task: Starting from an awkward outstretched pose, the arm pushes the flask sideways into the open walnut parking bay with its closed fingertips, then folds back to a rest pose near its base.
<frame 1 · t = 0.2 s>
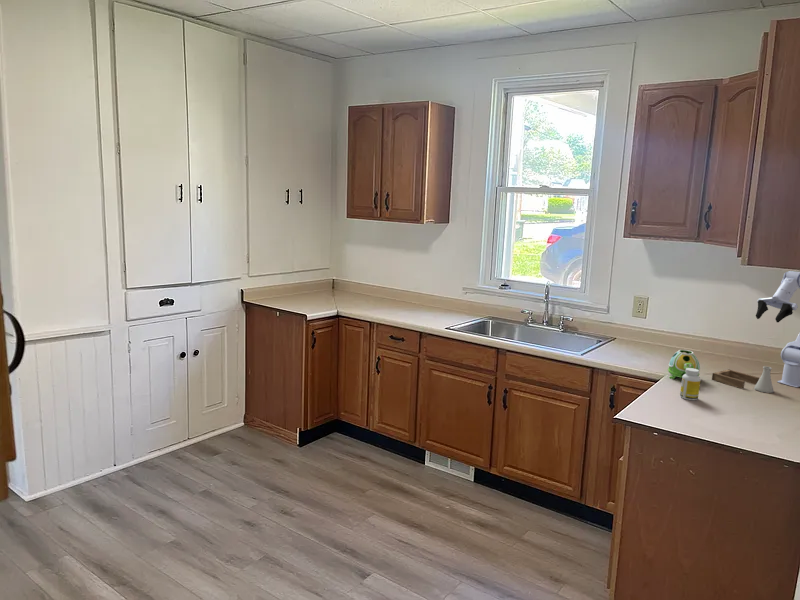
hand: (766, 319, 236), 31 cm above the worktop, tool tilted 45°, fingers open, 7 cm apart
flask: (763, 390, 245), on the worktop
turtle holder: (683, 379, 257), on the worktop
pill bottle: (688, 398, 232), on the worktop
parking bay: (737, 382, 254), on the worktop
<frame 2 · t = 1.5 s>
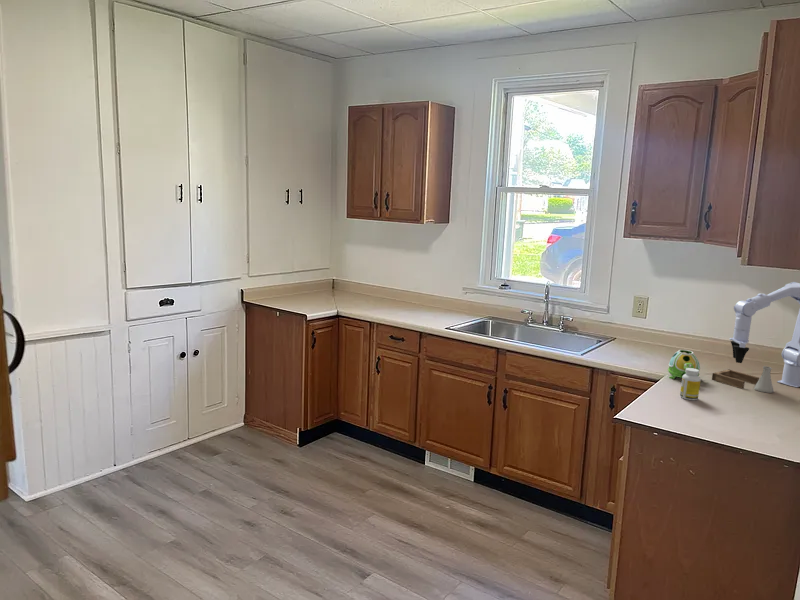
hand: (737, 360, 251), 10 cm above the worktop, tool pointing down, fingers open, 7 cm apart
nothing on the worktop moved.
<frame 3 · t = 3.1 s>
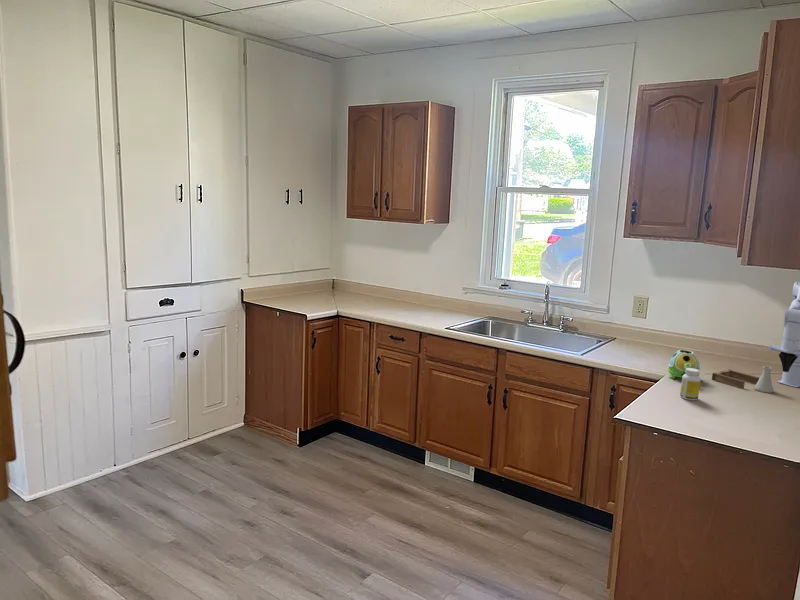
hand: (785, 371, 238), 10 cm above the worktop, tool pointing down, fingers closed
nothing on the worktop moved.
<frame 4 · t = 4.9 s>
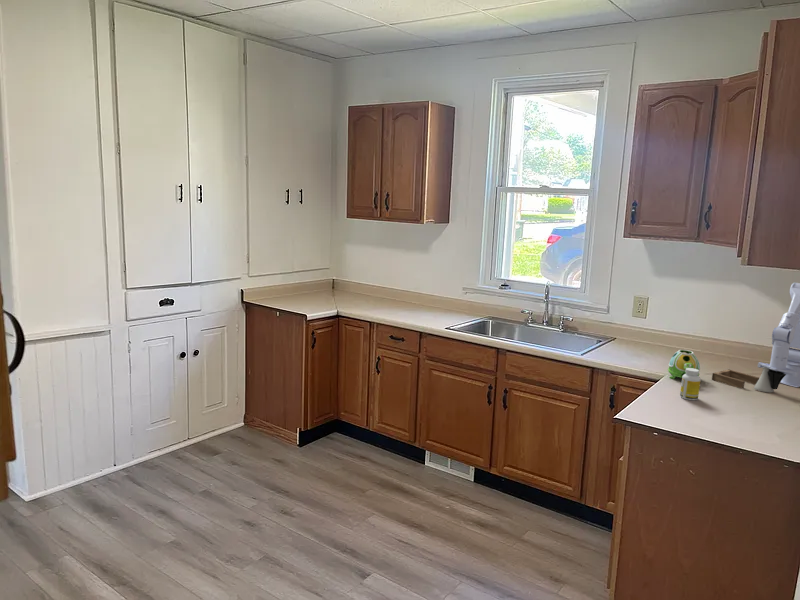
hand: (774, 388, 242), 2 cm above the worktop, tool pointing down, fingers closed, pressing on flask
flask: (763, 390, 245), on the worktop, touching gripper
everything else where it was.
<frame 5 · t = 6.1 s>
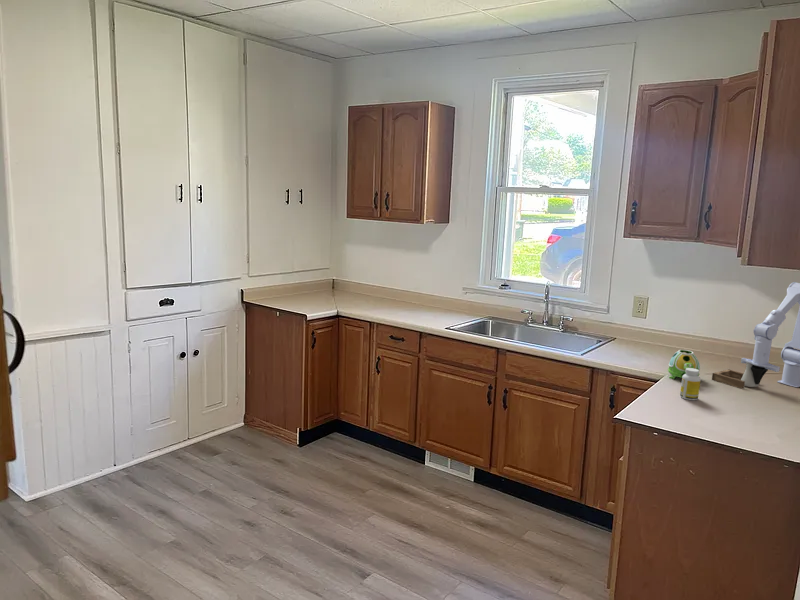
hand: (756, 383, 247), 2 cm above the worktop, tool pointing down, fingers closed, pressing on flask
flask: (748, 385, 250), on the worktop, touching gripper
everything else where it was.
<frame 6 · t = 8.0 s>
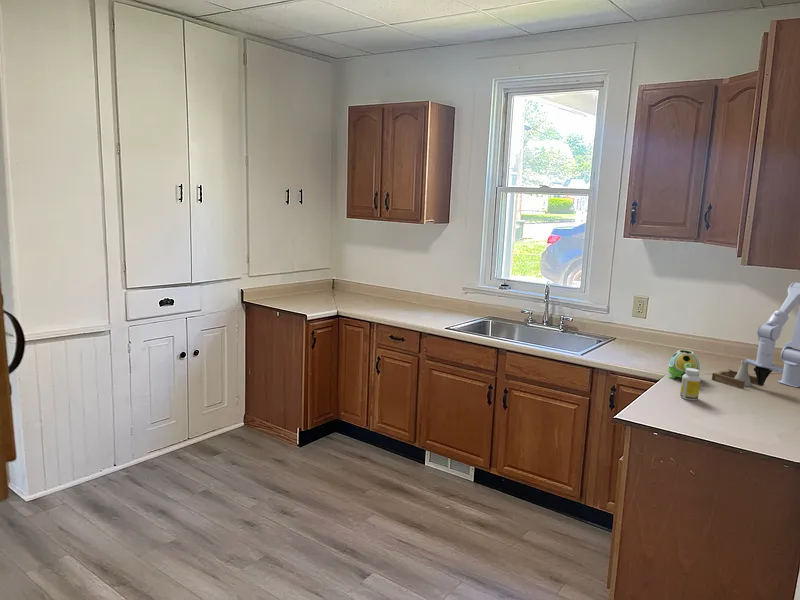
hand: (760, 384, 246), 2 cm above the worktop, tool pointing down, fingers closed
flask: (741, 384, 253), on the worktop
everything else where it was.
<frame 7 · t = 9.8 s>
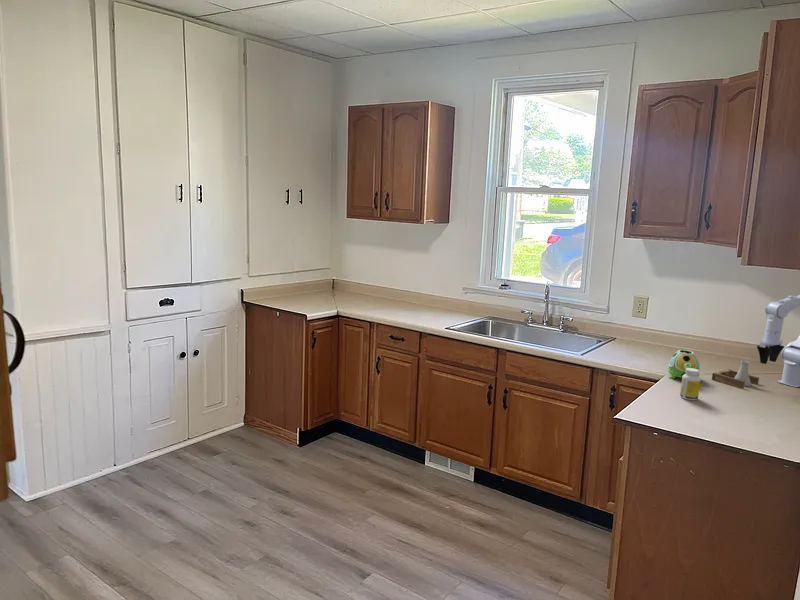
hand: (767, 362, 250), 10 cm above the worktop, tool pointing down, fingers open, 7 cm apart
nothing on the worktop moved.
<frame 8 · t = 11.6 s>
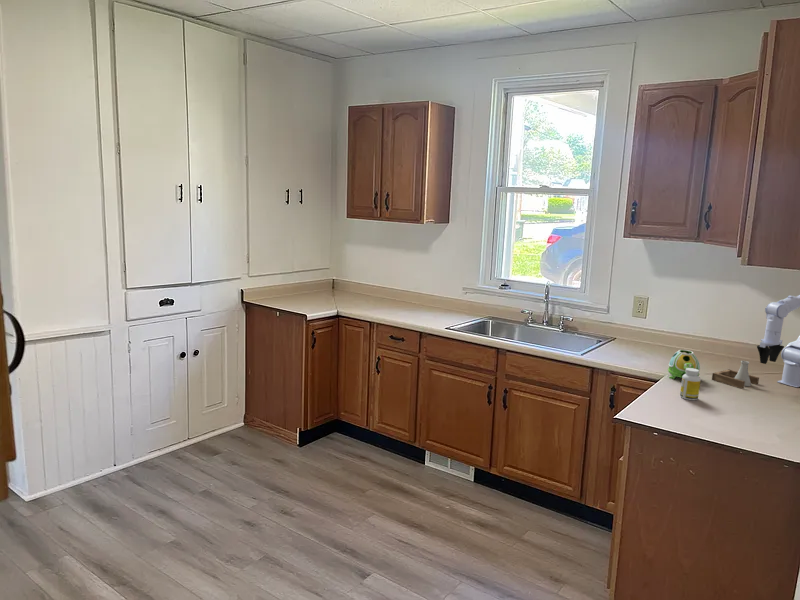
hand: (767, 362, 250), 10 cm above the worktop, tool pointing down, fingers open, 7 cm apart
nothing on the worktop moved.
at the end: flask inside the target area (1.9 cm from its centre), on the worktop; flask tilted 0°; flask touching worktop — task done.
